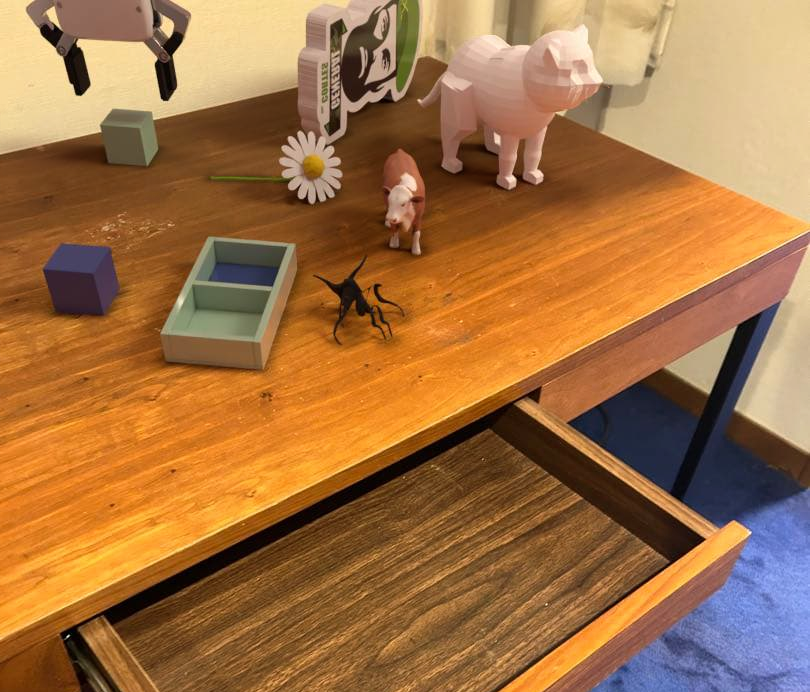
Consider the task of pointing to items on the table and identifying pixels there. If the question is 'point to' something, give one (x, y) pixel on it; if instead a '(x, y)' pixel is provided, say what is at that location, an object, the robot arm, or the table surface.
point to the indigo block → (81, 279)
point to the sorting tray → (231, 304)
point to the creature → (357, 299)
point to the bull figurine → (403, 197)
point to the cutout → (355, 60)
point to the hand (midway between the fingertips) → (125, 93)
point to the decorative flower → (306, 168)
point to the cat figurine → (512, 95)
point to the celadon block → (129, 137)
